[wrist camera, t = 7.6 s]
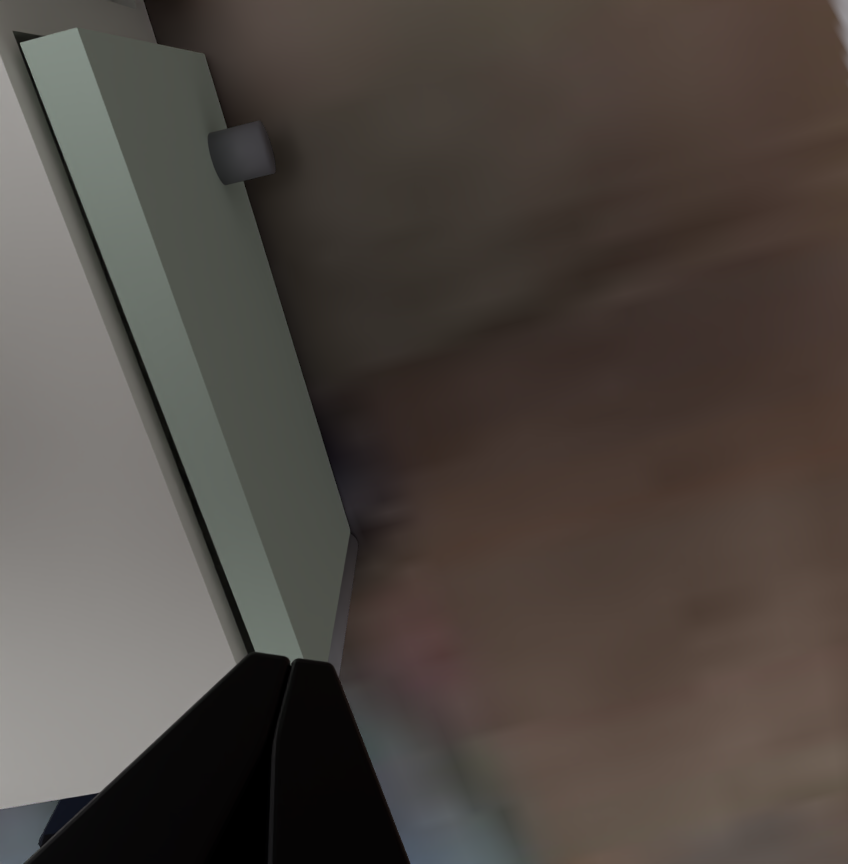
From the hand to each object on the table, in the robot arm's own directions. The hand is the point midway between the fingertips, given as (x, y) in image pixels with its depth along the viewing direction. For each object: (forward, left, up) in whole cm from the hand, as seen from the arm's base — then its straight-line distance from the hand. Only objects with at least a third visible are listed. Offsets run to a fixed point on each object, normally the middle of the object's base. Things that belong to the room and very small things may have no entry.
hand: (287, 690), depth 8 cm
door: (+1, +2, -12) cm, 12 cm away
